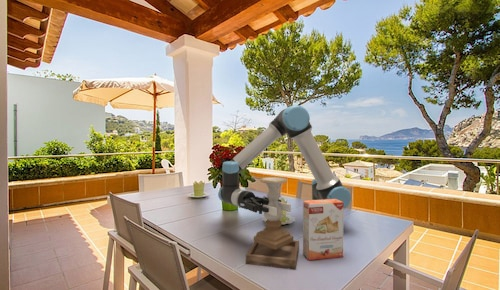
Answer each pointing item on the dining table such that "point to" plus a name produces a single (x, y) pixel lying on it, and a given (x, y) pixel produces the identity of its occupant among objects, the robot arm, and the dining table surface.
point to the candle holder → (273, 218)
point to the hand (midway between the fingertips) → (283, 210)
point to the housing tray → (274, 255)
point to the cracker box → (323, 228)
